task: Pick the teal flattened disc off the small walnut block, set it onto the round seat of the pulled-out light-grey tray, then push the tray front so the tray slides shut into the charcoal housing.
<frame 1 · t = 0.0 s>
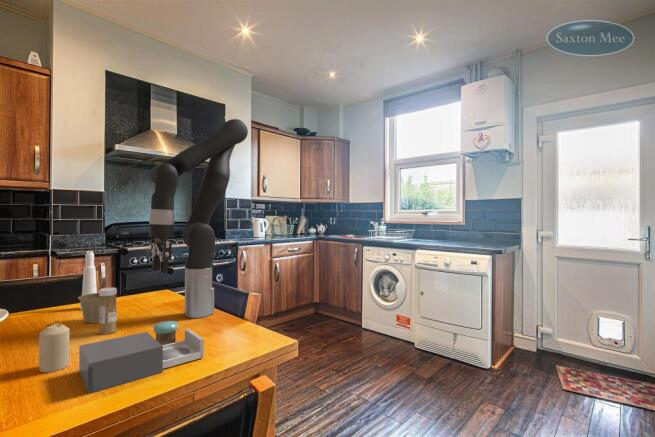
hand: (159, 271, 113), 17 cm above the table, tool pointing down, fingers open, 8 cm apart
housing: (120, 372, 77), on the table
teal flattened disc: (165, 329, 94), point 4 cm above the table, touching block
block: (165, 344, 94), on the table
candle: (54, 368, 79), on the table
flower pot: (95, 321, 114), on the table
tray: (169, 348, 84), point 3 cm above the table, slide at 10.0 cm
sprinkles bottle: (107, 332, 103), on the table
cosmetic bottle: (89, 308, 129), on the table
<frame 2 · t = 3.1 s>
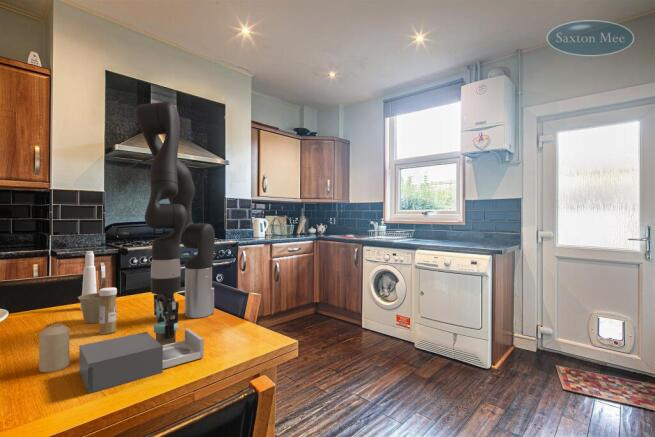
hand: (165, 334, 94), 3 cm above the table, tool pointing down, fingers closed on teal flattened disc, 6 cm apart
teal flattened disc: (165, 329, 94), point 4 cm above the table, touching block, gripper
everything else where it was.
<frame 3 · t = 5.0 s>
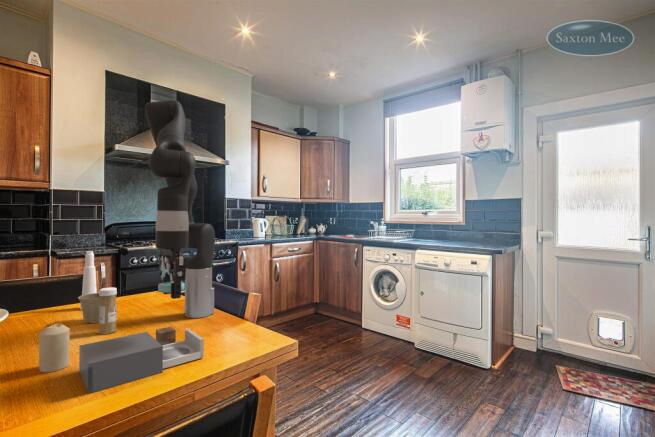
hand: (171, 295, 84), 16 cm above the table, tool pointing down, fingers closed on teal flattened disc, 6 cm apart
teal flattened disc: (171, 290, 84), point 17 cm above the table, touching gripper
everything else where it was.
when the fingers open (2 cm above the table, at t = 7.3 s): teal flattened disc drops 2 cm, resting on tray.
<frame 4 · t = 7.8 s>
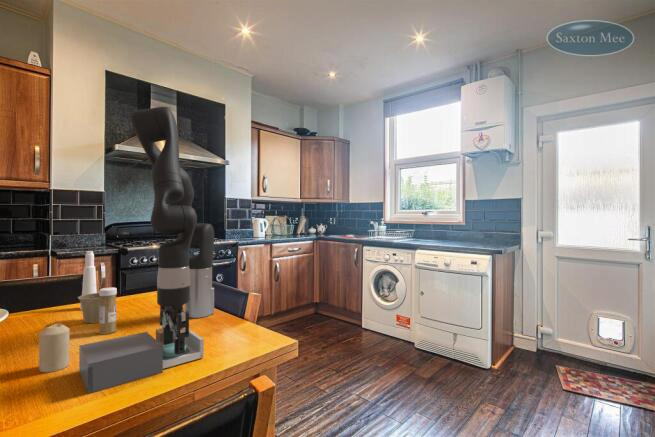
hand: (173, 348, 84), 2 cm above the table, tool pointing down, fingers open, 8 cm apart
teal flattened disc: (173, 353, 84), point 1 cm above the table, touching tray
tray: (169, 348, 84), point 3 cm above the table, slide at 10.0 cm, touching teal flattened disc
everything else where it was.
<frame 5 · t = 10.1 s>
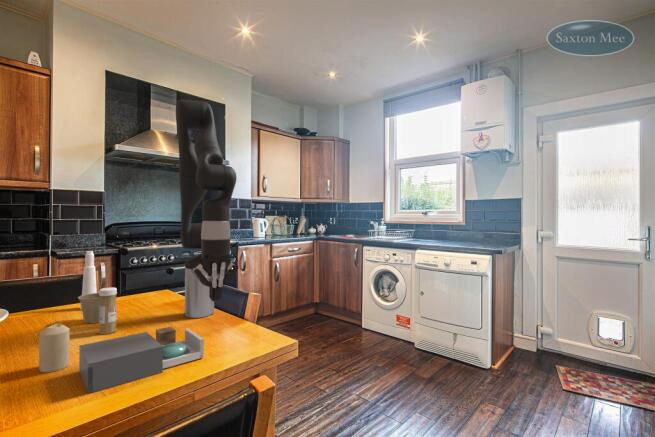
hand: (215, 300, 92), 13 cm above the table, tool pointing down, fingers closed
nothing on the table moved.
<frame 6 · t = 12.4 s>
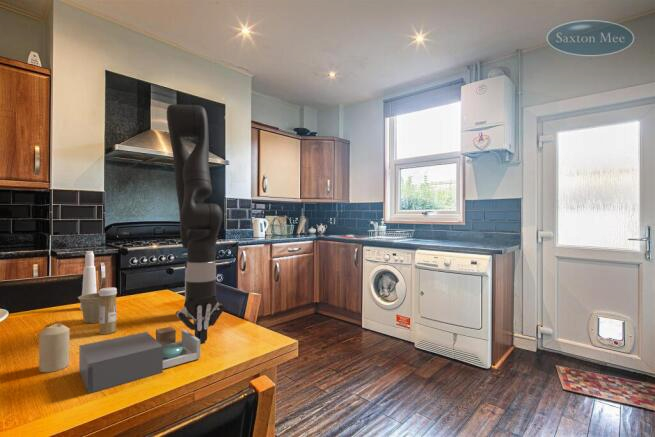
hand: (200, 343, 89), 2 cm above the table, tool pointing down, fingers closed
tray: (166, 349, 83), point 3 cm above the table, slide at 9.1 cm, touching teal flattened disc, gripper
everything else where it was.
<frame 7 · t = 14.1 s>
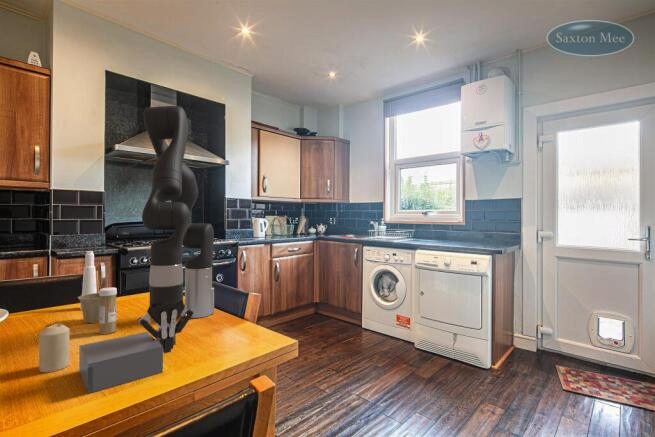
hand: (166, 351, 83), 2 cm above the table, tool pointing down, fingers closed
teal flattened disc: (130, 364, 78), point 1 cm above the table, touching tray
tray: (126, 359, 77), point 3 cm above the table, slide at 0.5 cm, touching teal flattened disc
everything else where it was.
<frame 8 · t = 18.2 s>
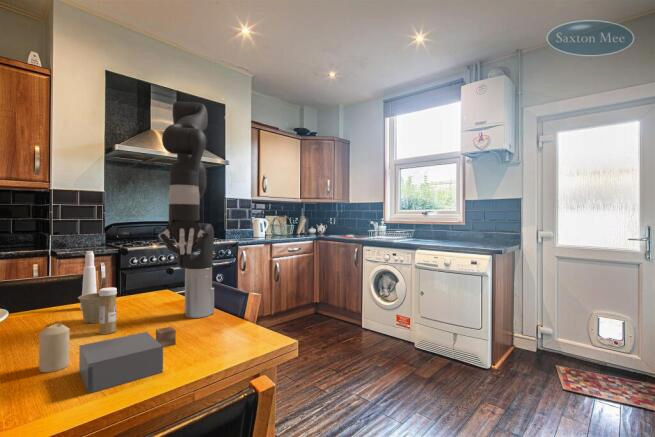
hand: (183, 268, 89), 22 cm above the table, tool pointing down, fingers closed
nothing on the table moved.
at the end: tray slide at 0.5 cm; teal flattened disc inside the target area on the housing (1.9 cm from its centre), point 1.2 cm above the housing's base; the gripper is holding nothing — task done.
